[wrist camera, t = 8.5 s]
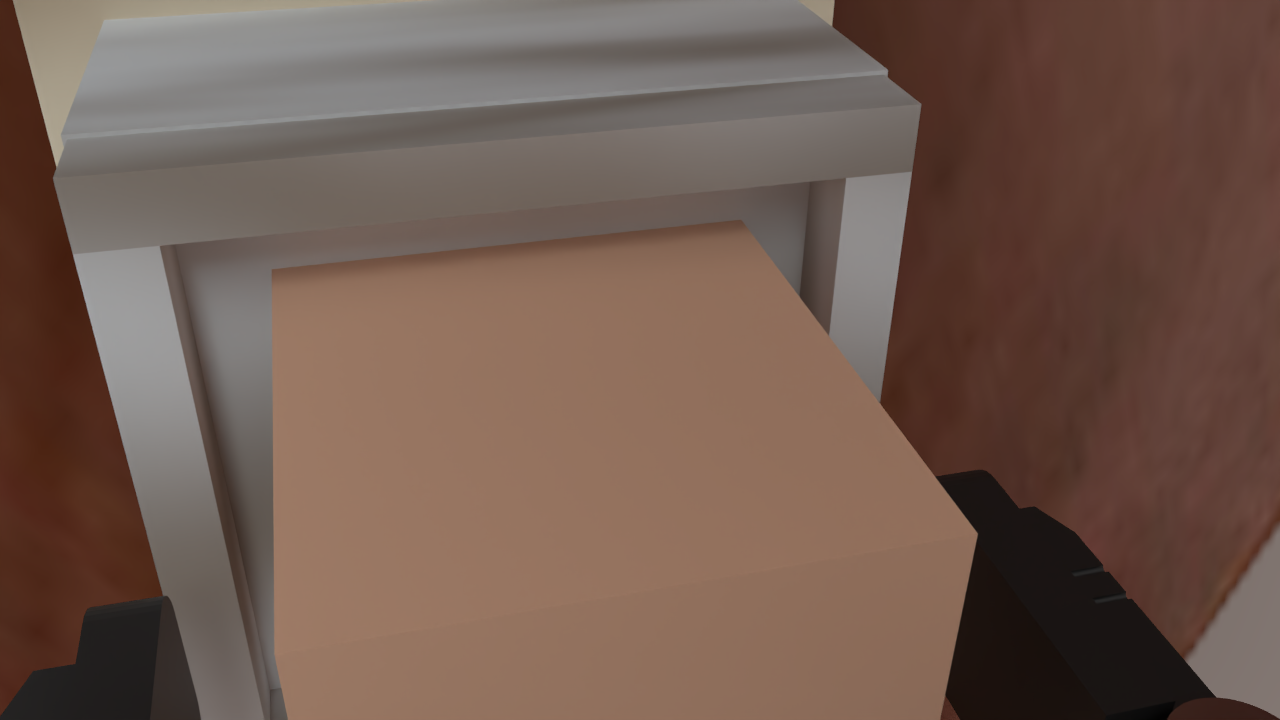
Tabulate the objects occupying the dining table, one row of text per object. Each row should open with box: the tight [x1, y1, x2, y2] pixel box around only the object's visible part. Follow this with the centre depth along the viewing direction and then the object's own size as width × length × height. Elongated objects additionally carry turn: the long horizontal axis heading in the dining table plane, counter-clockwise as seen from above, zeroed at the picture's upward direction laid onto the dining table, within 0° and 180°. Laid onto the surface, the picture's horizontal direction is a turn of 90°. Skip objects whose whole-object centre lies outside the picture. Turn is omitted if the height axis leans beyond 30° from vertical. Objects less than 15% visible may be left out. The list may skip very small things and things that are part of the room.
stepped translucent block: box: [13, 0, 921, 720], centre depth 18 cm, size 11×11×9 cm
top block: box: [272, 220, 978, 720], centre depth 13 cm, size 6×6×6 cm
